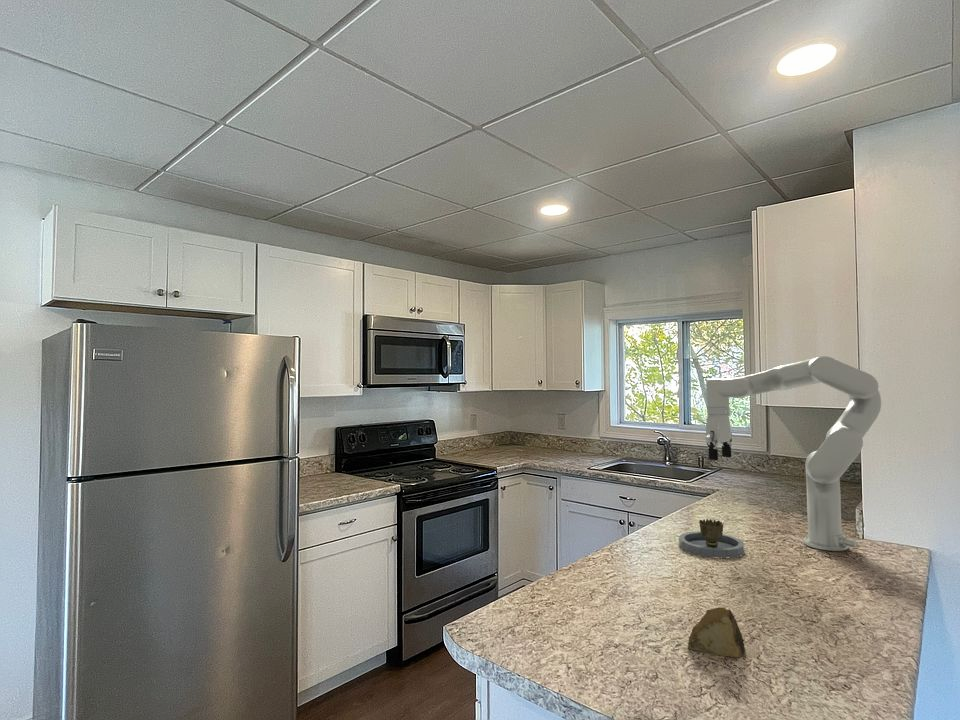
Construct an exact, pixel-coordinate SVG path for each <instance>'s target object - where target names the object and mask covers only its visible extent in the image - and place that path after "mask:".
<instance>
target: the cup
mask: <svg viewBox="0 0 960 720" xmlns="http://www.w3.org/2000/svg"><path fill="white" fill-rule="evenodd" d="M698 524H699V529H700V532H701V535H702V537H703V539H704V540H706V545H707V546H710V547H716V546H717V545H718V543H717V542H719V541H720V540H721V538H722V534H724V533H723V531H724V523H723V522H722V521H720V520H719V519H718V520H716V519H713V520H712V519H708V518H707V519H706V520H705V519H703V520H702V519H699V521H698Z"/></svg>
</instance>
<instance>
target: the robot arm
mask: <svg viewBox="0 0 960 720" xmlns="http://www.w3.org/2000/svg"><path fill="white" fill-rule="evenodd" d="M820 383H822V384H824V385H827V386H828V387H830V388H832V389H835V390H837V391H840V392H841V393H844V394H846V395H848V396H849V397H848V398H849V399H848V400H849V402H848V405H847V406H846V408H845V409H844V410H843V412H842V414H841V415H840V416H839V418H838V419H837V420H836V421H835V423H834V424H833V425H832V426H831V427H830V429H828V431H827V432H826V435H825V439H824V441H822V443H821V445H820V446H819V447H818V449H817V450H814V451H812V452H811V453H809V454H808V455H807V457H806V459H805V465H804V466H805V483H806V510H807V511H806V512H807V513H806V514H807V536H805V537H803V539H802V542H803V543H802V544H804V545H806V546H807V547H811V548H812V549H817V550H821V551H828V552H830V551H832V552H843V551H848V549H849V547H853V548H856V547H857V545H858V543H857V541H856V540H855V539H851V538H847V537H846V533H843V532H842V528H843V527H842V508H841V506H842V505H841V500H842V499H841V497H842V496H841V484H840V479H841V477H842V476H843V475H844V473H845V472H846V471H847V470H848V468H849V467H850V466H851V465H852V464H853V462H854V461H855V460H856V459H857V457H858V455H859V454H860V452H861V451H862V449H863V446H864V440H863V439H864V437H865V436H866V434H867V432H869V430H870V428H871V427H872V426H873V424H874V422H875V421H876V419H878V417H879V415H880V412H881V408H882V398H881V393H880V391H879V381H878V380H877V379H876V377H875V376H873V375H872V374H870V373H868V372H866V371H863V370H862V369H861V370H860V369H859V368H856V367H854V366H851V365H849V364H846V363H844V362H841V361H840V360H837V359H835V358H833V357H831V356H828V355H826V356H825V355H821V356H817V357H814V358H809V359H804V360H801V361H796V362H792V363H787V364H783V365H779V366H776V367H773V368H771V369H768V370H766V371H761V372H758V373H757V372H756V373H753V374H749V375H745V376H739V377H733V378H732V377H731V378H724V377H723V378H719V377H718V378H714V377H713V378H709V379H706V382H705V388H706V391H705V392H706V412H707V414H706V415H707V417H706V425H705V441H706V445H707V450H708V460H710V461H718V460H719V450H718V445H719V444H722V446H721V456H722V457H723V458H731V457H732V441H733V433H732V432H731V422H730V416H731V414H730V413H731V412H730V398H734V399H735V398H736V399H745V398H747V397H751V396H756V395H760V394H766V393H769V392H777V391H778V392H779V391H788V390H792V389H798V388H801V387H805V386H810V385H816V384H820Z"/></svg>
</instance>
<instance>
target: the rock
mask: <svg viewBox="0 0 960 720" xmlns="http://www.w3.org/2000/svg"><path fill="white" fill-rule="evenodd" d="M687 649H688V650H690V651H691V650H692V651H697V652H701V653H706V654H712V655H715V656H716V655H717V656H722V657H731V658H738V659H739V658H740V657H742V656H744V655H745V654H746V652H747V651H746V647H745V642H744V638H743V634H742V632H741V631H740V627H739V625H738V622H737V620H736V618H735V616H734V614H733V611H732V610H731V609H726V608H725V607H715V608H711V609H707V610H706V611H705V614H704V615H703V616H702V617H701V618H700V620H699V621H698V623H697V624H696V625H694V626H693V627H692V630H691V633H690V635H689V637H688V642H687Z"/></svg>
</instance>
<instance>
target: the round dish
mask: <svg viewBox="0 0 960 720" xmlns="http://www.w3.org/2000/svg"><path fill="white" fill-rule="evenodd" d="M717 543H718V545H717V546H716V547H710V546H707V545H706V540H704V539H703V537H702V535H701V531H687V532H684V533H681V534H680V535H679V536H678V546H679V548H680V547H681V548H682V549H681V548H680V549H681V550H683V551H684V550H685V552H686V551H687V553H689V552H690V553H689V554H692V553H693V554H692V555H695V554H696V555H695V556H699V555H700V556H701V557H704V556H706V557H705V558H710V557H719V558H718V559H727V558H726V557H736V558H738V557H737V556H740V555H742V556H744V555H745V553H746V550H745V542H744V541H742V540H741V538H740V539H739V538H737V537H735V536H733V535H729V534H725V533H722V538H721V540H720V541H719V542H717ZM744 552H745V553H744ZM743 554H744V555H743ZM721 557H722V558H721ZM740 557H741V556H740Z"/></svg>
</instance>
